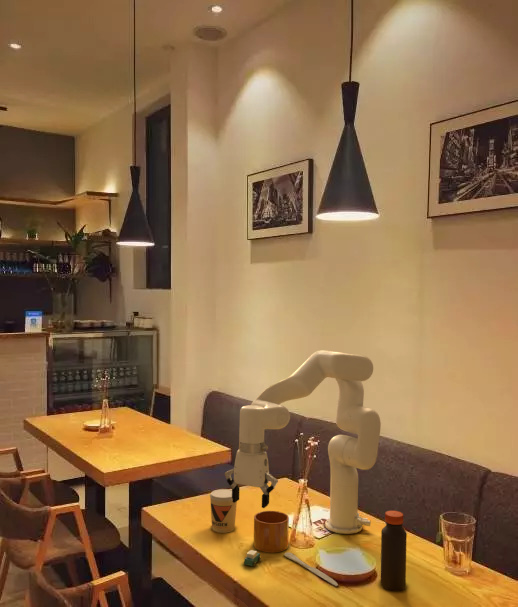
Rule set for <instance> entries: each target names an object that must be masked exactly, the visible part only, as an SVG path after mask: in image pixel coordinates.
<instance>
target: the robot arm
mask: <svg viewBox="0 0 518 607" xmlns="http://www.w3.org/2000/svg"><path fill="white" fill-rule="evenodd" d="M373 373H374V364H373V361H372V359H371V358H369V357H368V356H366V355H361V354H351V353H347V352H346V353H345V352H339V351H330V350H322V349H321V350H316V351H314V352H313V353H312V354H310V356H309V357H308V358H307V359H306V360H305V361H304V362H303V363H302V364H301V365H300V366H299V367H298V368H297V369H296V370H295V371H294V372H293V373H291V375H290V376H288V377H285V378H283V379H281V380H279V381H277V382H275V383H274V384H272V385H269V386H268V387H265V389H263V391H262V392H261V393H260V394H258V396H256V397H255V398H254V400H253V401H252V402H251V404H246V405H243V406H242V407H241V408H240V410H239V429H238V430H239V431H238V432H239V434H238V436H239V438H238V442H239V443H238V450H237V451H236V453H235V454H236V455H235V460H234V465H233V466H234V467H233V468H232V469H229V470H227V471H226V472H224V477H225V479H226V482H227V484H228V485H229V486H230V490H232V498H233V503H235V502H237V503H238V501H239V500H240V486H247V487H252V488H253V487H254V488H259V489H260V490H261V492H262V493H263V494H262V495H261V508H262V509H265V508H267V507H268V506H269V504H270V493H271V492H273V490H275V488H276V486H277V485H278V483H279V479H277V478H276V477H275V476H273V475H272V474H271V473H270V466H269V465H270V464H269V458H268V453H267V451H268V450H269V445H267V444H265V443H266V442H265V430H282V429H284V428H286V426H287V425H289V423H290V420H291V414H290V411H289V409H288V408H287V407H286V406H284V405H283V403H285V402H290V401H293V400H299V399H303V398H306V397H309V396H310V395H311V394H312V393H313V392H314V391H315V390H316V389H317V387H318V386H319V385H320V384H321V383H323V381H324V380H325V379H326V378H332V379H334V380H336V382H337V386H338V400H337V409H336V420H335V422H336V426H337V428H338V429H339V430H341V431H344V432H346V433H350V434H354V435H357V437H355V436H351V435H345V434H337V435H334V436H333V437H331V439H330V440H329V442H328V446H327V455H328V459H329V467H330V468H329V469H330V480H329V481H330V483H329V484H330V488H329V491H330V492H329V518H328V519H326V520H325V522H324V526H325V528H326V529H327V531H330V532H333V533H335V534H341V535H350V534H357V533H359V532H361V531H362V528H363V526H365V527H371V526H372V525H371V524H372V523H371V522H372V521H371V520H370V519H369V518H368V517H362V516H360V512H359V510H358V509H359V472H358V470H361V471H362V470H363V471H367V470H370V469H372V468H373V467H374V465H375V464H376V462H377V458H378V453H379V444H380V437H381V426H382V425H381V424H382V422H381V418H380V415H379V413H378V412H377V411H376V410H375V409H373V408H371V407H367V406H364V400H365V399H364V398H365V397H364V396H365V390H364V389H365V388H364V385H363V382H365V381H367V380H369V379H370V378H371V377H372V375H373ZM357 469H358V470H357ZM232 475H233V477H232ZM269 483H271V484H270V485H268V484H269Z"/></svg>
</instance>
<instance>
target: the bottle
mask: <svg viewBox="0 0 518 607" xmlns="http://www.w3.org/2000/svg"><path fill="white" fill-rule="evenodd" d="M384 523H385V526H384V527H383V528H382V529H381V533H380V534H381V535H380V537H381V538H380V580H379V581H380V585H381V587H382V588H384V589H385V590H387V591H391V592H392V591H393V592H398V591H399V592H400V591H402V590H404V589H405V588H406V585H407V582H406V581H407V539H408V538H407V531H406V530H405V528H403V525H404V513H403V512H401V511H398V510H387V511H385V513H384Z"/></svg>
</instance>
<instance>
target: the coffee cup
mask: <svg viewBox="0 0 518 607" xmlns="http://www.w3.org/2000/svg"><path fill="white" fill-rule="evenodd" d="M209 499H210V517H211V518H210V519H211V520H210V521H211V529H212V531H213V532H215V533H221V534H223V533H225V534H226V533H230V532H233V531H234V530H235V527H236V516H237V506H238V505H237V504H238V501H237V502H235V503H233V498H232V489H228V488H219V489H215V490H212V491H211V493H210V495H209Z"/></svg>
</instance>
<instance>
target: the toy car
mask: <svg viewBox="0 0 518 607" xmlns="http://www.w3.org/2000/svg"><path fill="white" fill-rule="evenodd" d="M261 559H262V557H261V553H260V552H258V551H257V550H253V549H250V550H249V551H248V552H247V553H246V557H245V558H244V560H243V565H245V566H250V567H253V568H255V567H256V566H257V564H256V563H257V562H258V563H260V562H261Z"/></svg>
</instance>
